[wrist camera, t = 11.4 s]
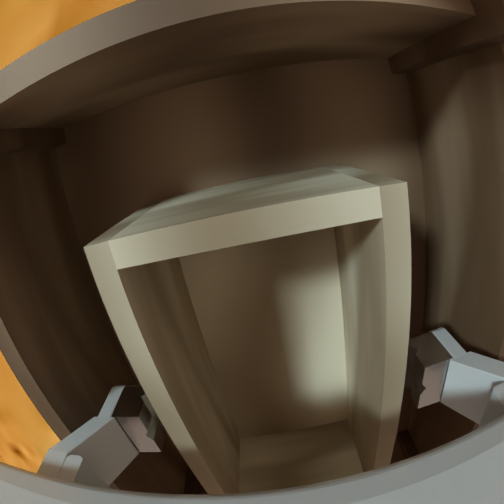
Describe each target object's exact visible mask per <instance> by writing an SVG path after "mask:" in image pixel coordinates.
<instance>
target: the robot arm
mask: <svg viewBox="0 0 504 504" xmlns="http://www.w3.org/2000/svg"><path fill="white" fill-rule="evenodd" d="M404 385H405V387H407V388H410V389H411V394H410V396H411V398H412V399H413V401H414V403H415V405H416V407H417V408H421V407H424V406H427V405H430V404H433V403H436V402H439V401H440V402H441V403H443V404H444V405H446V406H448V407H450V408H451V409H453V410H455V411H456V412H458V413H460V414H462V415H463V416H465V417H467V418H469V419H470V420H472V421H474V422H476V423H477V424H479V426H478V428H477V429H476V430H474V431H472V432H470V433H468V434H466V435H464V436H462V437H460V438H457V439H455V440H453V441H451V442H448V443H446V444H444V445H441V446H439V447H436V448H434V449H432V450H429V451H426V452H424V453H421V454H419V455H416V456H413V457H410V458H408V459H405V460H402V461H399V462H396V463H393V464H390V465H387V466H383V467H380V468H377V469H373V470H370V471H366V472H363V473H359V474H355V475H351V476H347V477H343V478H339V479H334V480H329V481H325V482H320V483H315V484H309V485H303V486H297V487H291V488H284V489H276V490H268V491H258V492H247V493H232V494H202V495H190V494H160V493H146V492H135V491H125V490H117V489H111V488H110V487H109V485H110V484H111V483H112V482H113V481H114V480H115V479H116V478H117V477H118V476H119V474H120V473H121V472H122V471H123V470H124V469H125V468H126V467H127V466H128V465H129V464H130V463H131V461H132V460H133V459H134V458H135V457H136V456H137V455H138V454H139V452H161V451H162V447H163V443H164V439H165V437H164V435H163V433H162V432H163V431H164V430H165V427H164V426H163V424H162V422H161V420H160V419H159V417H158V415H157V413H156V412H155V410H154V408H153V406H152V404H151V403H150V401H149V399H148V397H147V395H146V393H145V391H144V390H143V388H142V386H141V385H127V386H126V385H122V386H114V387H112V388H111V390H110V392H109V394H108V396H107V398H106V400H105V403H104V405H103V407H102V409H101V411H100V413H99V415H98V417H93V418H92V419H90V420H89V421H88V422H86V423H85V424H84V425H82V426H81V427H79V428H78V429H77V430H75V431H74V432H73V433H71V434H70V435H68V436H67V437H66V438H64V439H63V440H61V441H60V442H59V443H57V444H56V445H54V446H53V447H52V448H50V449H49V450H48V452H47V454H46V456H45V458H44V460H43V462H42V464H41V466H40V468H39V470H38V472H37V473H34V472H31V471H27V470H24V469H21V468H17V467H14V466H11V465H8V464H5V463H3V462H0V504H504V362H502V361H499V360H496V359H492V358H489V357H486V356H483V355H480V354H477V353H474V352H471V351H470V352H466V351H465V350H464V349H463V348H462V347H461V346H460V345H459V343H458V342H457V341H456V340H455V339H454V338H453V337H452V336H451V335H450V333H449V332H448V331H447V330H446V329H445V328H443V327H440V328H437V329H435V330H432V331H429V332H427V333H424V334H421V335H418V336H414V337H411V338H409V344H408V355H407V365H406V374H405V383H404Z"/></svg>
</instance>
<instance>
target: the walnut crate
mask: <svg viewBox="0 0 504 504" xmlns="http://www.w3.org/2000/svg"><path fill="white" fill-rule="evenodd" d="M333 164H341V165H345V166H349V167H354V168H357V169H361V170H365V171H369V172H373V173H377V174H380V175H384V176H387V177H391V178H395V179H398V180H401V181H405V182H407V188H408V199H409V213H410V232H411V312H410V330H409V338H411V337H414V336H418V335H421V334H424V333H427V332H429V331H432V330H435V329H437V328H440V327H443V328H445V329H446V330H447V331H448V332H449V333H450V335H451V336H452V337H453V338H454V339H455V340H456V341H457V342H458V343H459V345H460V346H461V347H462V348H463V349H464V350H465V351H466V352H470V351H471V352H474V353H477V354H480V355H483V356H486V357H489V358H492V359H496V360H499V361H502V362H504V0H137V1H134V2H131V3H129V4H126V5H123V6H121V7H118V8H116V9H113V10H111V11H108V12H106V13H103V14H101V15H99V16H96V17H94V18H92V19H90V20H87V21H85V22H83V23H81V24H79V25H77V26H75V27H73V28H71V29H69V30H67V31H65V32H63V33H61V34H59V35H57V36H55V37H54V38H52V39H50V40H48V41H46V42H45V43H43V44H41V45H39V46H38V47H36V48H34V49H33V50H31V51H29V52H28V53H26V54H24V55H23V56H21V57H20V58H18V59H17V60H15V61H14V62H12V63H11V64H9V65H8V66H6V67H5V68H3V69H2V70H0V350H1V352H2V354H3V356H4V357H5V359H6V361H7V363H8V364H9V366H10V368H11V370H12V371H13V373H14V375H15V376H16V378H17V379H18V381H19V383H20V384H21V386H22V387H23V389H24V390H25V392H26V394H27V395H28V397H29V398H30V400H31V401H32V402H33V404H34V405H35V407H36V408H37V410H38V411H39V412H40V414H41V415H42V417H43V418H44V419H45V421H46V422H47V423H48V425H49V426H50V427H51V429H52V430H53V431H54V433H55V434H56V435H57V436H58V438H59V439H60V440H63V439H64V438H66V437H67V436H68V435H70V434H71V433H73V432H74V431H75V430H77V429H78V428H79V427H81V426H82V425H84V424H85V423H86V422H88V421H89V420H90V419H92V418H93V417H98V415H99V413H100V411H101V409H102V407H103V405H104V403H105V400H106V398H107V396H108V394H109V392H110V390H111V388H112V387H114V386H122V385H126V386H127V385H141V384H140V382H139V380H138V378H137V376H136V374H135V372H134V370H133V368H132V366H131V364H130V362H129V360H128V358H127V355H126V353H125V351H124V349H123V347H122V345H121V342H120V340H119V338H118V336H117V334H116V331H115V329H114V327H113V324H112V322H111V320H110V317H109V315H108V312H107V310H106V308H105V305H104V303H103V300H102V297H101V295H100V292H99V290H98V287H97V284H96V282H95V279H94V276H93V274H92V271H91V268H90V265H89V262H88V259H87V256H86V253H85V250H84V246H86V245H87V244H89V243H90V242H91V241H93V240H94V239H96V238H97V237H99V236H100V235H101V234H103V233H104V232H106V231H107V230H109V229H110V228H112V227H113V226H115V225H116V224H118V223H119V222H121V221H122V220H124V219H125V218H127V217H128V216H130V215H131V214H133V213H134V212H136V211H137V210H139V209H140V208H142V207H144V206H145V205H147V204H148V203H150V202H152V201H155V200H159V199H164V198H168V197H172V196H176V195H180V194H184V193H188V192H193V191H197V190H202V189H206V188H210V187H215V186H220V185H224V184H229V183H234V182H239V181H243V180H248V179H253V178H259V177H264V176H269V175H274V174H280V173H285V172H291V171H296V170H302V169H308V168H314V167H320V166H326V165H333ZM410 394H411V389H410V388H407V387H405V385H404V390H403V398H402V404H401V411H400V417H399V423H398V428H397V433H396V439H395V444H394V448H393V453H392V458H391V462H390V464H393V463H396V462H399V461H402V460H405V459H408V458H410V457H413V456H416V455H419V454H421V453H424V452H426V451H429V450H432V449H434V448H436V447H439V446H441V445H444V444H446V443H448V442H451V441H453V440H455V439H457V438H460V437H462V436H464V435H466V434H468V433H470V432H472V431H474V430H476V429H477V428H478V426H479V424H477V423H476V422H474V421H472V420H470V419H469V418H467V417H465V416H463V415H462V414H460V413H458V412H456V411H455V410H453V409H451V408H450V407H448V406H446V405H444V404H443V403H441V402H440V401H439V402H436V403H433V404H430V405H427V406H424V407H421V408H417V407H416V405H415V403H414V401H413V399H412V398H411V396H410ZM162 433H163V435H164V437H165V439H164V443H163V447H162V451H161V452H139V454H138V455H137V456H136V457H135V458H134V459H133V460H132V461H131V463H130V464H129V465H128V466H127V467H126V468H125V469H124V470H123V471H122V472H121V473H120V474H119V476H118V477H117V478H116V479H115V480H114V481H113V482H112V483H111V484H110V485H109V487H110V488H111V489H117V490H125V491H135V492H146V493H160V494H190V495H202V494H208V493H207V492H206V490H205V489H204V488H203V486H202V485H201V483H200V482H199V480H198V479H197V478H196V476H195V475H194V473H193V472H192V470H191V469H190V467H189V466H188V464H187V463H186V461H185V460H184V458H183V457H182V455H181V453H180V452H179V450H178V449H177V447H176V445H175V444H174V442H173V441H172V439H171V437H170V436H169V434H168V432H167V431H166V429H165V430H164V431H163V432H162Z"/></svg>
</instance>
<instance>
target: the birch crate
mask: <svg viewBox="0 0 504 504" xmlns="http://www.w3.org/2000/svg"><path fill="white" fill-rule="evenodd" d="M84 250H85V253H86V256H87V259H88V262H89V265H90V268H91V271H92V274H93V276H94V279H95V282H96V284H97V287H98V290H99V292H100V295H101V297H102V300H103V303H104V305H105V308H106V310H107V312H108V315H109V317H110V320H111V322H112V324H113V327H114V329H115V331H116V334H117V336H118V338H119V340H120V342H121V345H122V347H123V349H124V351H125V353H126V355H127V358H128V360H129V362H130V364H131V366H132V368H133V370H134V372H135V374H136V376H137V378H138V380H139V382H140V384H141V386H142V388H143V390H144V391H145V393H146V395H147V397H148V399H149V401H150V403H151V404H152V406H153V408H154V410H155V412H156V413H157V415H158V417H159V419H160V420H161V422H162V424H163V426H164V427H165V429H166V431H167V432H168V434H169V436H170V437H171V439H172V441H173V442H174V444H175V445H176V447H177V449H178V450H179V452H180V453H181V455H182V457H183V458H184V460H185V461H186V463H187V464H188V466H189V467H190V469H191V470H192V472H193V473H194V475H195V476H196V478H197V479H198V480H199V482H200V483H201V485H202V486H203V488H204V489H205V490H206V492H207V493H208V494H232V493H247V492H258V491H268V490H276V489H284V488H291V487H297V486H303V485H309V484H315V483H320V482H325V481H329V480H334V479H339V478H343V477H347V476H351V475H355V474H359V473H363V472H366V471H370V470H373V469H377V468H380V467H383V466H387V465H390V462H391V458H392V453H393V448H394V444H395V439H396V433H397V428H398V423H399V417H400V411H401V404H402V398H403V390H404V383H405V374H406V365H407V355H408V344H409V330H410V312H411V232H410V213H409V199H408V188H407V182H405V181H401V180H398V179H395V178H391V177H387V176H384V175H380V174H377V173H373V172H369V171H365V170H361V169H357V168H354V167H349V166H345V165H341V164H333V165H326V166H320V167H314V168H308V169H302V170H296V171H291V172H285V173H280V174H274V175H269V176H264V177H259V178H253V179H248V180H243V181H239V182H234V183H229V184H224V185H220V186H215V187H210V188H206V189H202V190H197V191H193V192H188V193H184V194H180V195H176V196H172V197H168V198H164V199H159V200H155V201H152V202H150V203H148V204H147V205H145V206H144V207H142V208H140V209H139V210H137V211H136V212H134V213H133V214H131V215H130V216H128V217H127V218H125V219H124V220H122V221H121V222H119V223H118V224H116V225H115V226H113V227H112V228H110V229H109V230H107V231H106V232H104V233H103V234H101V235H100V236H99V237H97V238H96V239H94V240H93V241H91V242H90V243H89V244H87V245H86V246H84Z"/></svg>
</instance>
